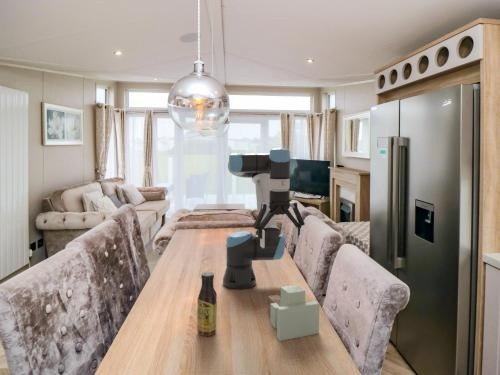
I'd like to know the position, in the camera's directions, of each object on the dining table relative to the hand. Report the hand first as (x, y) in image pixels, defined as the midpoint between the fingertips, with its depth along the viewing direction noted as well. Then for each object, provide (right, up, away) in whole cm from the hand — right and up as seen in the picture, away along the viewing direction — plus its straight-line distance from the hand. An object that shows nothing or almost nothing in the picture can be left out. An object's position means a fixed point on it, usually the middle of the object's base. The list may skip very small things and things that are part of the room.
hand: (279, 245), depth 135 cm
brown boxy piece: (-1, -25, -8) cm, 26 cm away
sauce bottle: (-25, -26, -19) cm, 41 cm away
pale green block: (+3, -25, -17) cm, 31 cm away
